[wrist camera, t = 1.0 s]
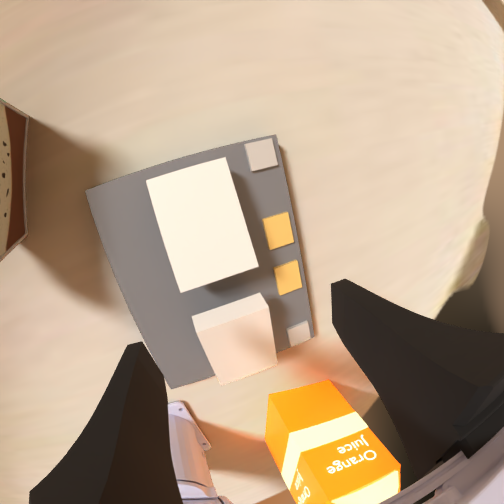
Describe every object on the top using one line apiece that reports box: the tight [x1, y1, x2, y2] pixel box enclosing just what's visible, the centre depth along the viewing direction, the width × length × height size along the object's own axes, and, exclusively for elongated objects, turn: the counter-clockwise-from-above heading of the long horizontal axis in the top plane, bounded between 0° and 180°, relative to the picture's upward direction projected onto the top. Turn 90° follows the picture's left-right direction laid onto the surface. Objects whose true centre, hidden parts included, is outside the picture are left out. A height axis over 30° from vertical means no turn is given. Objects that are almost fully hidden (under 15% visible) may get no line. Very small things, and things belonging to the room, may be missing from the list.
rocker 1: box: [146, 157, 259, 293], centre depth 18 cm, size 7×5×2 cm
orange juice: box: [265, 380, 401, 504], centre depth 22 cm, size 8×9×20 cm
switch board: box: [85, 135, 314, 389], centre depth 22 cm, size 18×14×3 cm
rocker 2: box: [192, 293, 278, 386], centre depth 21 cm, size 7×5×2 cm
